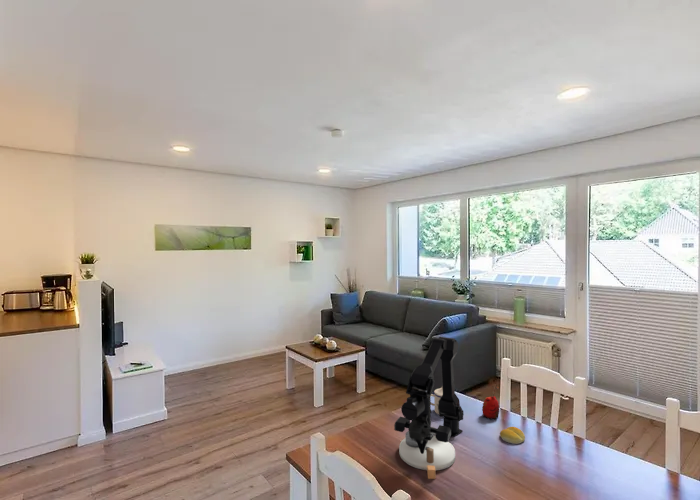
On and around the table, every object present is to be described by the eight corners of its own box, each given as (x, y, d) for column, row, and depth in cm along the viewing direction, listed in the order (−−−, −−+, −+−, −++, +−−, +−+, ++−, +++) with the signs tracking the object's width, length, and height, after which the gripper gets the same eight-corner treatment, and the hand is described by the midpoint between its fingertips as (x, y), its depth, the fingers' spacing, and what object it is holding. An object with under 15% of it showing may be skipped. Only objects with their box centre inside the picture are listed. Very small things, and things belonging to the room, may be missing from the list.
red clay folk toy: (489, 411, 170) (489, 379, 170) (503, 417, 164) (503, 383, 164) (478, 416, 166) (478, 382, 166) (492, 422, 160) (492, 387, 160)
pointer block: (427, 474, 125) (427, 465, 125) (434, 474, 125) (434, 465, 125) (428, 478, 123) (428, 469, 123) (435, 478, 122) (435, 469, 122)
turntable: (397, 439, 147) (397, 423, 147) (449, 439, 146) (448, 424, 145) (401, 469, 127) (401, 452, 127) (461, 471, 126) (460, 453, 125)
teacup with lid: (455, 408, 173) (454, 384, 173) (453, 417, 165) (453, 391, 165) (429, 405, 178) (428, 381, 177) (426, 413, 169) (425, 388, 169)
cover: (404, 437, 144) (404, 426, 144) (423, 437, 144) (422, 427, 143) (406, 447, 137) (406, 436, 137) (425, 447, 137) (425, 436, 136)
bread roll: (496, 437, 148) (496, 427, 148) (510, 431, 152) (510, 421, 152) (514, 447, 141) (514, 436, 141) (529, 440, 145) (529, 430, 145)
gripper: (388, 412, 126) (388, 458, 126) (443, 424, 117) (443, 473, 118) (399, 400, 136) (400, 442, 136) (451, 410, 127) (451, 455, 127)
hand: (422, 453), depth 129 cm, fingers closed
